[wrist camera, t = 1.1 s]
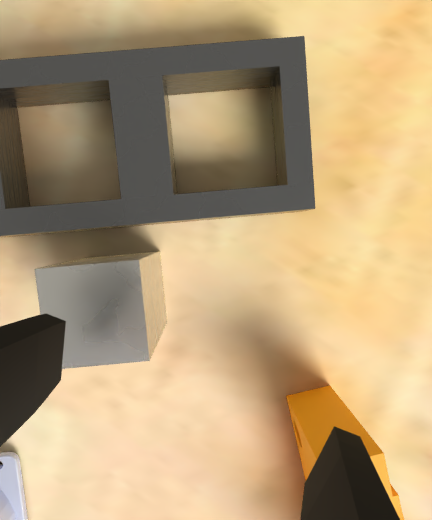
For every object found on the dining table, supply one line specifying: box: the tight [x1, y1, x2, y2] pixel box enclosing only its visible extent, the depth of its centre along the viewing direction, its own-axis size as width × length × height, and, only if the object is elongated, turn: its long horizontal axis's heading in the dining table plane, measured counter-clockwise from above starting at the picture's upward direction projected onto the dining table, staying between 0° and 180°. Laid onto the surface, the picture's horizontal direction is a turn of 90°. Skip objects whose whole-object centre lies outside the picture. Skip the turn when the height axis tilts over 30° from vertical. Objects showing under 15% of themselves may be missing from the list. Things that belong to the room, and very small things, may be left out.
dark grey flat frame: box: [0, 36, 315, 237], centre depth 18 cm, size 16×8×2 cm, turn 95°
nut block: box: [35, 251, 167, 369], centre depth 17 cm, size 4×4×6 cm
